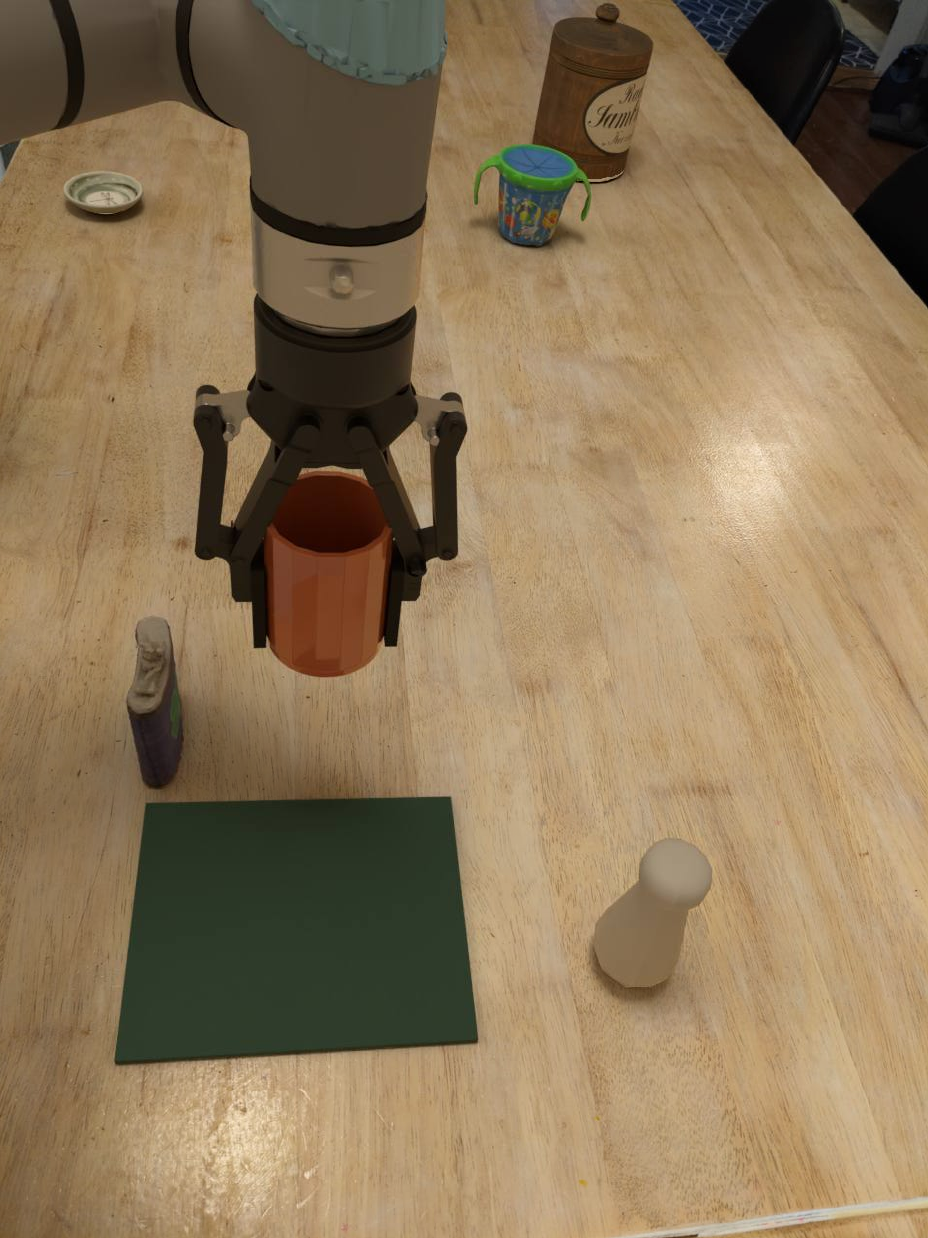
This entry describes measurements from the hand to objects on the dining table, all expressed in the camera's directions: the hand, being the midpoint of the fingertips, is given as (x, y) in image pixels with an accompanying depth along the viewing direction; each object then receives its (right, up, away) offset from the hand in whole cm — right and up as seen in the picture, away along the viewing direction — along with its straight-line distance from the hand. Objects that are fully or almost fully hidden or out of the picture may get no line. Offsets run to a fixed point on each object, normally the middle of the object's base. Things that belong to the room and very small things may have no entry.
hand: (325, 630), depth 64 cm
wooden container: (+26, +71, +95) cm, 122 cm away
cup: (0, 0, 0) cm, 0 cm away
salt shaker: (+20, -23, +6) cm, 31 cm away
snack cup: (+17, +53, +77) cm, 95 cm away
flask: (-14, -8, +14) cm, 22 cm away
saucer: (-37, +54, +68) cm, 94 cm away
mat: (-2, -19, +5) cm, 20 cm away
